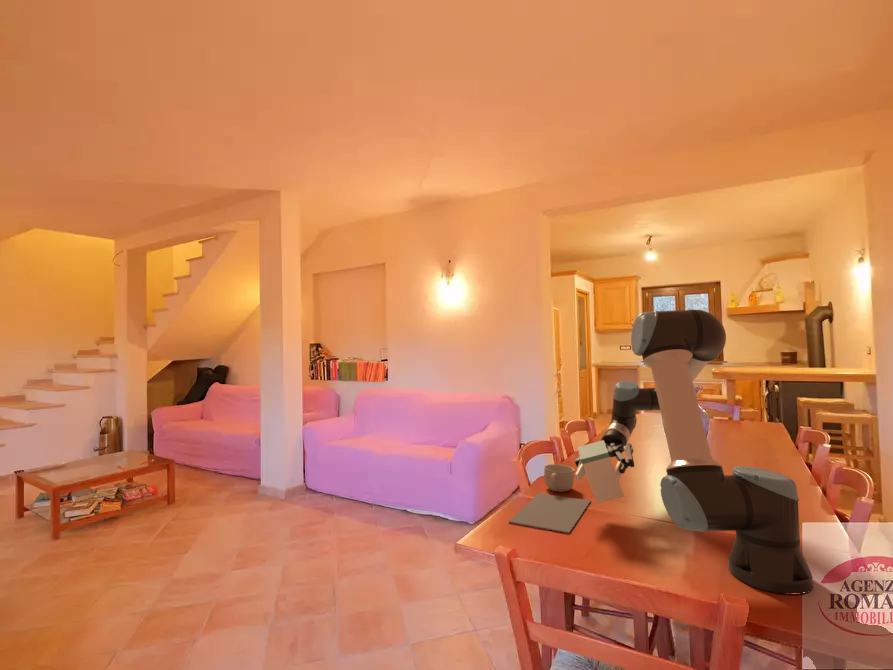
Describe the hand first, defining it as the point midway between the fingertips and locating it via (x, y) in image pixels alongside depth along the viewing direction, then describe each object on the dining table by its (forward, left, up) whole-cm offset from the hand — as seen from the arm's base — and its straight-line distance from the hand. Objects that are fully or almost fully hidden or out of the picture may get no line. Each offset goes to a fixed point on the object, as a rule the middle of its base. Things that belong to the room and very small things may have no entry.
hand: (595, 478), depth 129 cm
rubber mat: (+5, +15, -14) cm, 21 cm away
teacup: (+26, +19, -14) cm, 35 cm away
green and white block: (+6, -2, -6) cm, 9 cm away
